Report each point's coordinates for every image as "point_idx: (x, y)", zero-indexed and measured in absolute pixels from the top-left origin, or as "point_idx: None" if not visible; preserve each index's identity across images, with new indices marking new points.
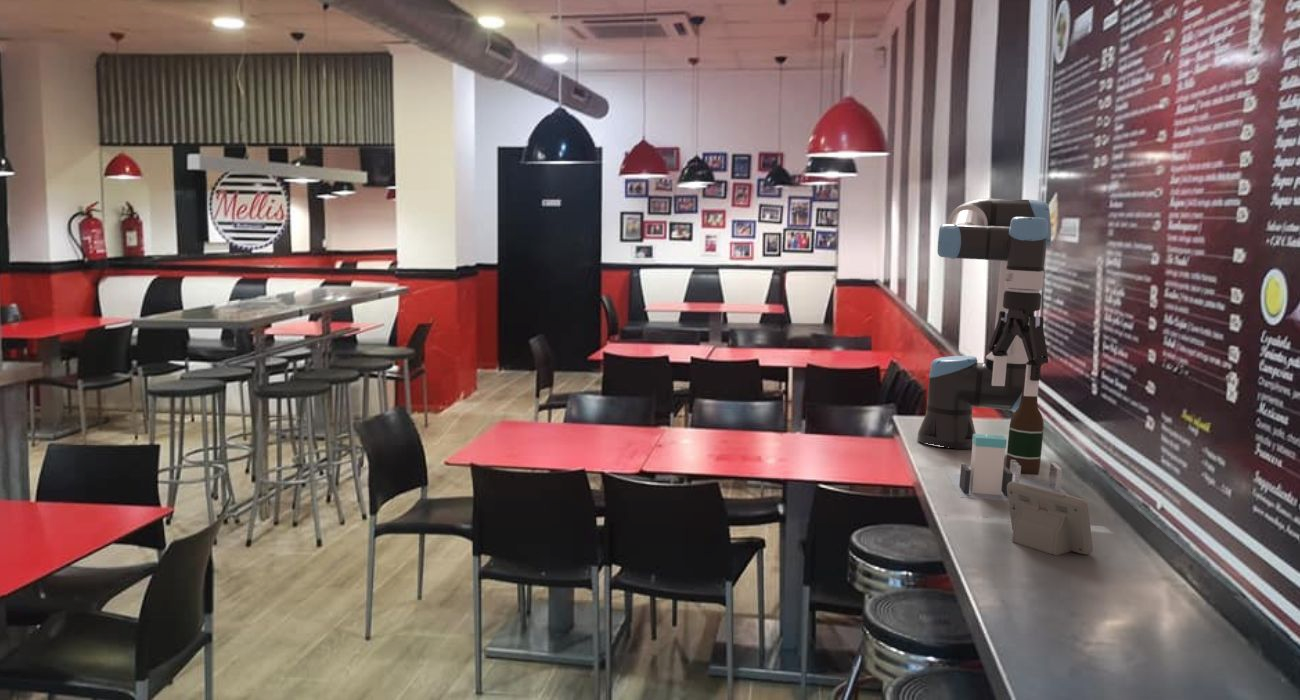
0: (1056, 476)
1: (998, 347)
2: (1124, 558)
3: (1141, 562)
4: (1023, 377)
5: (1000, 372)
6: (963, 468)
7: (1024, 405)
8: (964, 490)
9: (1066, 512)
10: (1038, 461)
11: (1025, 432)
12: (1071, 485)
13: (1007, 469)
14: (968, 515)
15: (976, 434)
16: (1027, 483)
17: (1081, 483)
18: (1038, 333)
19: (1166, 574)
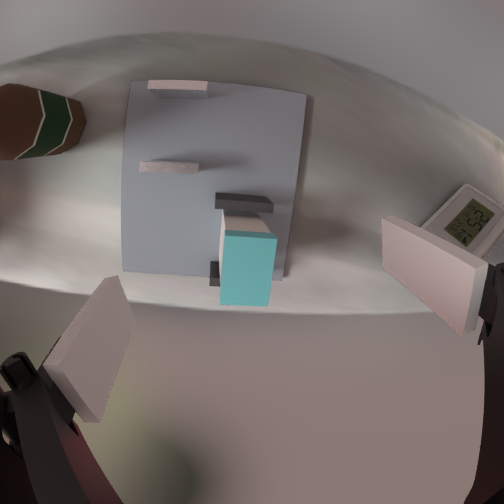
0: (205, 93)
1: (100, 468)
2: (468, 152)
3: (474, 141)
4: None
5: (108, 333)
6: None
7: None
8: None
9: (480, 216)
10: (69, 98)
11: (40, 126)
12: (125, 53)
13: (236, 203)
14: (347, 279)
15: (227, 298)
16: (156, 135)
17: (110, 36)
18: None
19: (492, 139)
